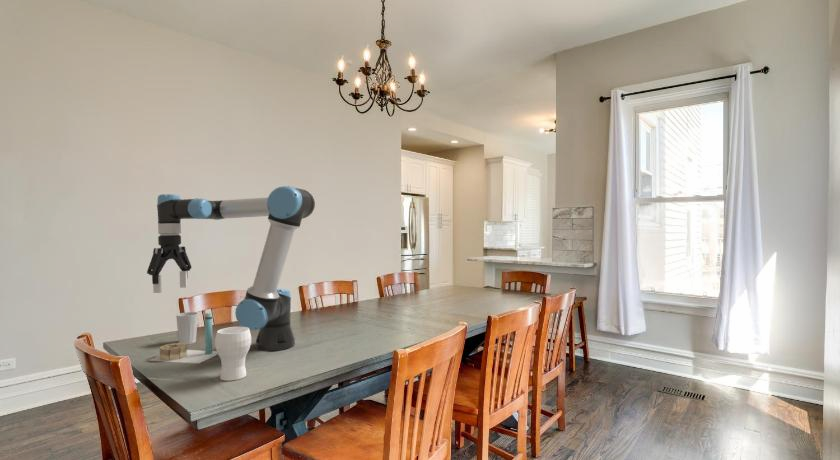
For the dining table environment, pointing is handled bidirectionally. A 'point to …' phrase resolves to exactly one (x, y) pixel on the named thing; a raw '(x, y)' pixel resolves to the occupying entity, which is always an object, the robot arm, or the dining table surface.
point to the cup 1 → (187, 327)
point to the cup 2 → (233, 351)
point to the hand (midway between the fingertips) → (171, 290)
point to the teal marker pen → (208, 333)
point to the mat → (191, 357)
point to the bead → (173, 351)
